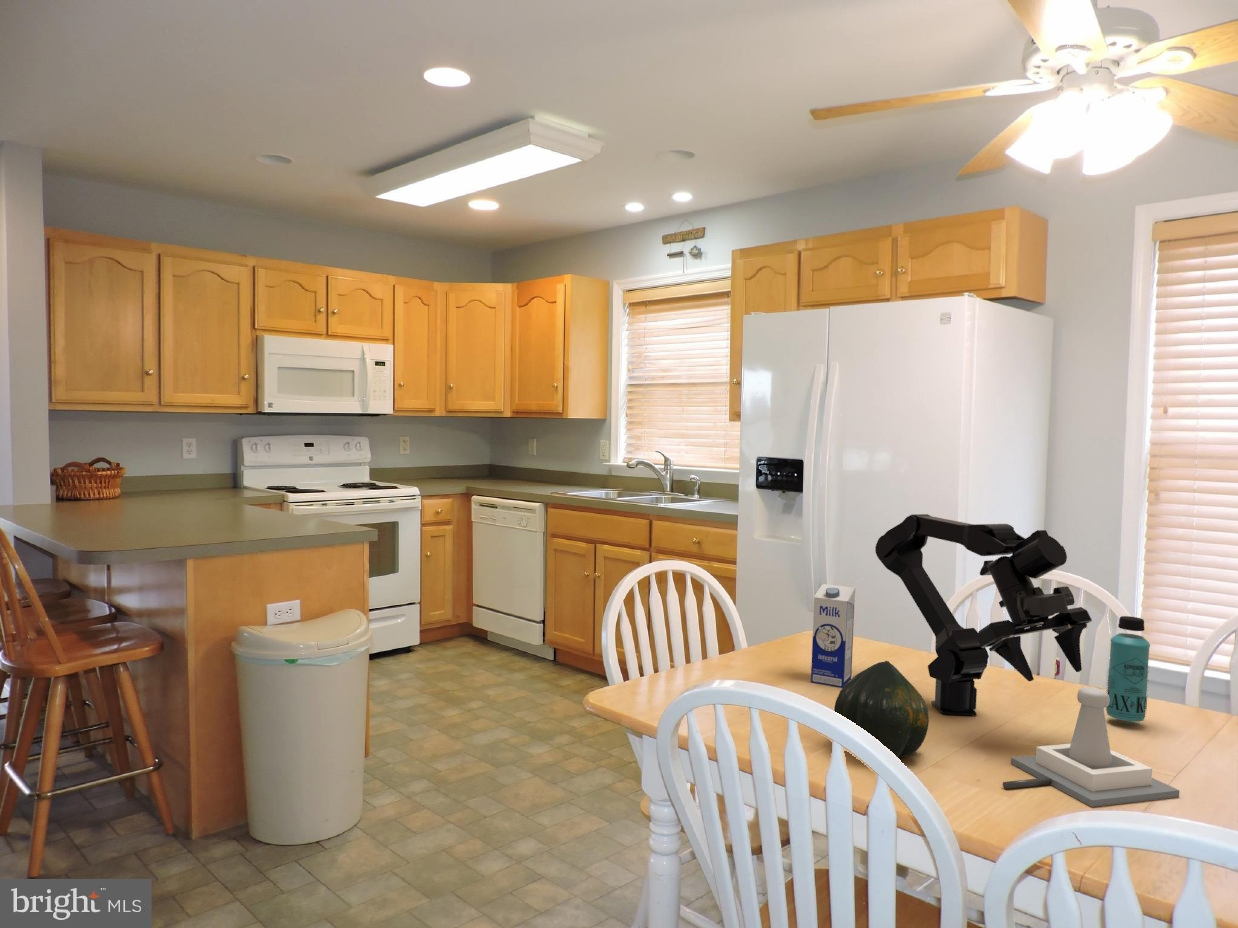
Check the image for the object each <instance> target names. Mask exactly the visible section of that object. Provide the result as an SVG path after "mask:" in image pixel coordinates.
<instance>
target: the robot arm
mask: <svg viewBox="0 0 1238 928" xmlns="http://www.w3.org/2000/svg"><path fill="white" fill-rule="evenodd" d="M928 538H933V539H938V540H943V541H946V542H952V543H955V544H960V545H962V546H963V547H965V549H966V550H967V551H969V552H972V553H974V554H975V555H978V556H980V557H991V556H992V557H993V556H1000V557H997V558H996V559H994V560H993V559H992V560H991V559H990V560H984V561H983V565H982V567H981V569H980V571H979V576H982V577H983V576H991V578H992V579H993V582H994V584H995V586H996V590H997V591H998V593H999V596H1000V598H1001V600H999V602H998V604H999V607H1000V609H1002V608H1005V610H1006V612H1007V614H1008V617H1009V619H1010V620H1009V619H1006V620H1000V621H994V622H990V623H988V624H987V625H986V626H984V627H982V628H981V629H979V631H977V629H976V628H974V627H969V628H967V627H965V628H964V627H963V626H961V625H960V623H958V621H957V619H956V618H955V616H954V615H953V613H952V611H951V610H950V608H949V606H948V605H947V603H946V601H945V600H944V598H943V596H942V595H941V594H940V592H939V590H938V589H937V587H936V586H935V583H934V582H933V581H932V579H931V578H930V576H929V574H928V572H927V571H926V570H925V568H924V567H923V560H924V559H923V558H924V555H923V552H922V549H923V548H925V546H926V545H927V542H928V540H929V539H928ZM874 550H875V555H876V558H877V559H878V560H879V561H880V562H881V563H882V565H883V566H884V567H885V569H887V570H888V571H890V572H891V573H893V574H894V575H896V576H897V577H899V578H900V580H901V581H902V583H903V584H904V586H905V589H906V590H907V591H908V593H909V594H910V596H911V597H912V600H913V601H914V603H915V605H916V606H917V608H918V609H919V611H920V613H921V614H922V616H923V619H925V622H926V623H927V625H928V626H929V628H930V629H931V631H932V633H933V635H934V637H935V653H936V656H937V657H935V658H934V659H933V660H932V661H931V662H930V663H929V664H928V665H927V669H928V674H929V677H930V678H932V679H935V687H934V688H935V689H934V690H935V691H934V700H931V705H932V706H933V707H934V708H936V710H938V711H939V712H940V714H942V715H953V716H955V715H956V716H977V714H978V713H977V711H976V709H977V698H978V697H977V696H978V695H977V692H978V690H977V687H975V683H976V682H975V680H980V679H982V677H983V674H984V673H985V670H986V669H987V666H988V664H989V663H988V662H989V659H990V656H989V653H988V650H989V652H995V653H996V654H997V655H999V656H1000V657H1001V658H1002V659H1004V660H1005V661H1006V662H1007V663H1008V664H1009V665H1011V666H1012V667H1013V668H1014V669H1015V670H1016V671H1017V672H1018V673H1019V674H1020V675H1021V676H1022V677H1023V678H1024V679H1025V680H1027V681H1028V682H1032V681H1034V675H1033V672H1032V670H1031V669H1032V668H1030V665H1029V663H1028V661H1027V659H1026V655H1025V654H1024V652H1023V649H1022V647H1021V646H1022V645H1021V643H1022V641H1021V640H1022V638H1021V636H1022V635H1029V634H1033V633H1039V632H1044V631H1049V630H1052V632H1054V633H1056V634H1057V635H1055V636H1054V640H1055V641H1056V643H1057V644H1058V646H1059V648H1060V649H1061V651H1062V653H1063V655H1065V657H1066V659H1067V662H1069V664H1070V665H1071V667H1072V668H1073V670H1074V671H1075V672H1076V673H1080V672H1081V671H1082V670H1083V668H1082V667H1083V666H1082V655H1081V635H1082V634H1083V633H1082V632H1083V630H1085V629H1087V628H1088V624H1089V623H1091V622H1092V621H1093V620H1092V617H1091V615H1090V613H1089V612H1088V610H1087V609H1086V608H1084V607H1082V606H1079V607H1073V608H1068V606H1074V604H1075V601H1076V600H1075V598H1074V593H1073V592H1072V591H1071V589H1070V587H1069V586H1068V585H1067V586H1059V587H1058V586H1057V587H1053V589H1052V593H1045V592H1044V591H1043V589H1042V588H1041V586H1036V587H1035V586H1034V583H1033V581H1032V579H1035V580H1037V579H1039V578H1040V577H1043V576H1045V575H1046V574H1048V573H1050V572H1053V571H1054V570H1056V569H1058V568H1060V567H1061V566H1063V565H1065V564H1066V562H1067V561H1068V560H1067V559H1068V556H1067V552H1066V549H1065V547H1064V545H1061V543H1060V542H1059V541H1058V540H1057V539H1055V538H1054V537H1052V536H1050V535H1049V533H1048V531H1047V530H1046V529H1040V530H1039V529H1037V530H1035V531H1034V532H1032V533H1031V534H1030V535H1028V537H1026V538H1025V537H1024V536H1022V535H1020V534H1019V533H1017V532H1016V531H1015V528H1014V526H1012V525H1011V524H1008V523H986V524H985V523H984V524H982V523H981V524H980V523H979V524H972V523H967V522H962V521H957V520H951V519H948V518H947V519H946V518H942V517H937V516H933V515H932V516H931V515H930V514H927V513H925V514H923V513H922V514H910V515H908V516H906V517H905V518H904V520H902V522H900V523H898V524H897V525H895V526H894V527H892V528H890V529H889V530H887V531H886V532H885V533H884V534H883V535H880V537H879V538H878V540H877V541H876V544H875V549H874ZM1009 555H1010V556H1009ZM986 648H988V650H987V649H986Z"/></svg>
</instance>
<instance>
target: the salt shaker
mask: <svg viewBox="0 0 1238 928" xmlns="http://www.w3.org/2000/svg"><path fill="white" fill-rule="evenodd" d="M1076 698H1077V702H1078V703H1079V704H1080V708H1079V711H1078V716H1077V720H1076V723H1075V727H1074V730H1073V735H1072V738H1071V742H1070V744H1071V745H1070V749H1069V758H1070V759H1072V760H1074V761H1076V762H1078V763H1080V764H1082V765H1084V766H1086V767H1088V768H1091V769H1093V770H1094V769H1104V768H1109V767H1110V765H1111V763H1112V758H1111V752H1110V750H1111V746H1110V740H1109V736H1108V734H1109V733H1108V727H1107V722H1106V715H1105V714H1106V713H1105V709H1106V707H1108V705H1109V701H1110V698H1109V695H1108V694H1107V691H1105V690H1103V689H1101V688H1098V687H1092V686H1091V687H1090V686H1085V687H1081V688H1079V689H1078V691H1077V694H1076Z"/></svg>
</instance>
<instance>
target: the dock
mask: <svg viewBox="0 0 1238 928" xmlns="http://www.w3.org/2000/svg"><path fill="white" fill-rule="evenodd" d="M1070 745H1071V743H1065V744H1064V743H1063V744H1061V743H1060V744H1053V745H1052V744H1051V745H1050V744H1049V745H1041V746H1036V748H1035V750H1036V751H1035V753H1036V754H1034V755H1033V754H1032V755H1023V756H1013V757H1012V756H1011V758H1010V764H1011V765H1013V766H1015V767H1016V768H1019V769H1020V770H1022V771H1024V772H1026V773H1028V774H1030V775H1031V776H1032V777H1035V778H1029V779H1020V780H1019V779H1017V780H1012V781H1011V780H1010V781H1008V780H1007V781H1003V782H1002V787H1003V789H1004V788H1005V790H1007V789H1009V790H1010V789H1017V788H1018V789H1019V788H1028V787H1038V786H1047V785H1050V786H1052V787H1054V788H1056V789H1057V790H1059V791H1061V792H1063V793H1064V794H1066V795H1069V796H1070V797H1072V798H1074V799H1075V800H1077V801H1079V802H1082V803H1083V804H1085V805H1086V806H1089V807H1090V808H1096V807H1105V806H1113V805H1120V804H1121V805H1122V804H1131V803H1139V802H1148V801H1156V800H1157V801H1158V800H1163V799H1164V800H1166V799H1173V798H1180V790H1179V789H1177V788H1175V787H1174V786H1171V785H1169V784H1167V783H1164V782H1162V781H1160V780H1158V779H1156V778H1153V768H1152V767H1151V766H1150V767H1149V766H1148V765H1145V764H1144V763H1141V762H1140V761H1137V760H1135V759H1133V758H1130V757H1127V756H1126V755H1123V754H1121V753H1119V752H1117V751H1114V750H1112V749H1110V752H1111V758H1112V763H1111V765H1110V767H1109V768H1104V769H1094V770H1093V769H1091V768H1088V767H1086V766H1084V765H1082V764H1080V763H1078V762H1076V761H1074V760H1072V759H1070V758H1069V749H1070Z"/></svg>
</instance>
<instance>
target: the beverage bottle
mask: <svg viewBox="0 0 1238 928" xmlns="http://www.w3.org/2000/svg"><path fill="white" fill-rule="evenodd" d="M1118 620H1119V622H1118V626H1117V627H1118V628H1119V629H1122V630H1125V631H1132V632H1144V631H1145V620H1144V618H1141V617H1136V616H1129V615H1122V616H1120V617H1119V619H1118ZM1150 647H1151V644H1150V642H1149V641H1148V640H1147V639H1146V638H1145V637H1144V636H1143V635H1139V634H1134V633H1125V632H1123V633H1122V632H1121V633H1120V632H1119V633H1117V634H1115V635H1113V636H1112V637H1111V638H1110V649H1109V650H1110V651H1109V652H1110V653H1109V667H1108V675H1107V682H1106V683H1107V684H1106V686H1107V688H1106V692H1107V694H1108V695H1109V698H1110V701H1109V705H1108V707H1106V708H1104V711H1106V714H1107V715H1108V716H1109V717H1110V718H1113V719H1117V720H1120V721H1124V722H1134V723H1137V722H1138V723H1140V722H1144V721H1145V718H1146V716H1147V715H1146V714H1147V707H1148V706H1147V705H1148V693H1147V692H1148V691H1149V690H1148V686H1149V683H1148V677H1149V673H1150V671H1149V669H1150V668H1149V659H1150Z"/></svg>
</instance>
